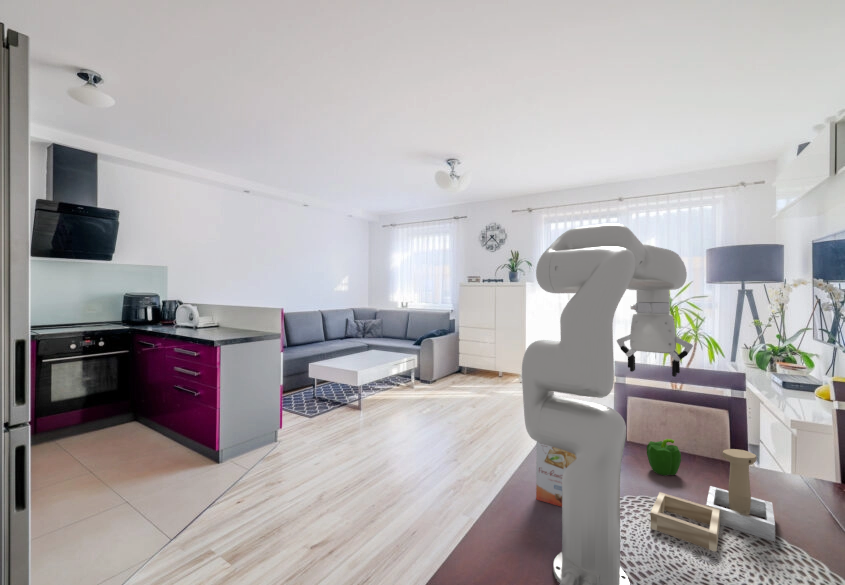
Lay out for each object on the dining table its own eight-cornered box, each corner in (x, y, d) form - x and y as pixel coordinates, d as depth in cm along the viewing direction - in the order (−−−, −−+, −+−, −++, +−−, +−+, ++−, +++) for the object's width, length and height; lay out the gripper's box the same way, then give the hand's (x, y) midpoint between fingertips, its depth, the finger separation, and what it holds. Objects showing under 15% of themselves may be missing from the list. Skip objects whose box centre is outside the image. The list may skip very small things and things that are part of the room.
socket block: (775, 542, 77) (775, 525, 77) (706, 520, 85) (706, 504, 85) (772, 517, 86) (772, 502, 86) (710, 499, 93) (709, 485, 93)
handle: (762, 524, 83) (762, 457, 83) (738, 526, 82) (737, 458, 82) (740, 511, 88) (740, 448, 88) (717, 514, 87) (717, 450, 87)
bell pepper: (640, 470, 109) (640, 436, 109) (654, 463, 113) (654, 430, 113) (672, 482, 102) (672, 446, 102) (686, 474, 106) (686, 439, 106)
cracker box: (535, 501, 92) (535, 417, 92) (540, 490, 97) (541, 410, 97) (597, 518, 85) (597, 427, 85) (599, 505, 90) (599, 419, 90)
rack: (716, 552, 74) (716, 534, 74) (650, 528, 81) (650, 512, 81) (719, 525, 83) (719, 509, 83) (659, 506, 90) (659, 491, 90)
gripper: (613, 308, 102) (614, 371, 102) (691, 310, 91) (691, 380, 91) (620, 308, 108) (620, 367, 107) (693, 309, 96) (694, 375, 96)
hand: (652, 373), depth 99 cm, fingers open, 9 cm apart
